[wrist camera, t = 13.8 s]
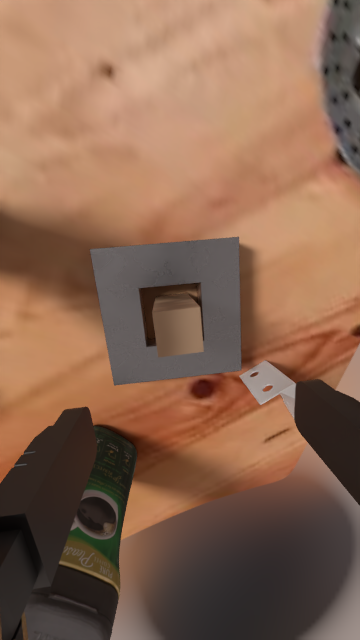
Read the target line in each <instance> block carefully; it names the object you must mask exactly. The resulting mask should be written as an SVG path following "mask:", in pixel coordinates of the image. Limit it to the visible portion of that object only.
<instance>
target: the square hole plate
mask: <svg viewBox="0 0 360 640" xmlns="http://www.w3.org/2000/svg"><path fill="white" fill-rule="evenodd" d="M90 253H91V259H92V264H93V270H94V276H95V281H96V287H97V292H98V298H99V303H100V309H101V315H102V320H103V326H104V331H105V337H106V342H107V348H108V354H109V359H110V365H111V370H112V376H113V381H114V385H122V384H130V383H139V382H147V381H156V380H164V379H173V378H181V377H189V376H198V375H206V374H215V373H223V372H232V371H240V370H241V322H240V269H239V237H232V238H220V239H208V240H196V241H184V242H172V243H160V244H148V245H136V246H124V247H112V248H100V249H90ZM189 283H197V293H198V305H199V306H200V311H201V323H202V336H203V348H204V352H198V353H190V354H182V355H174V356H166V357H159V358H158V352H157V345H156V338H153V339H148V335H147V328H146V320H145V312H144V304H143V297H142V289H141V288H146V287H157V286H167V285H178V284H189Z"/></svg>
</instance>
